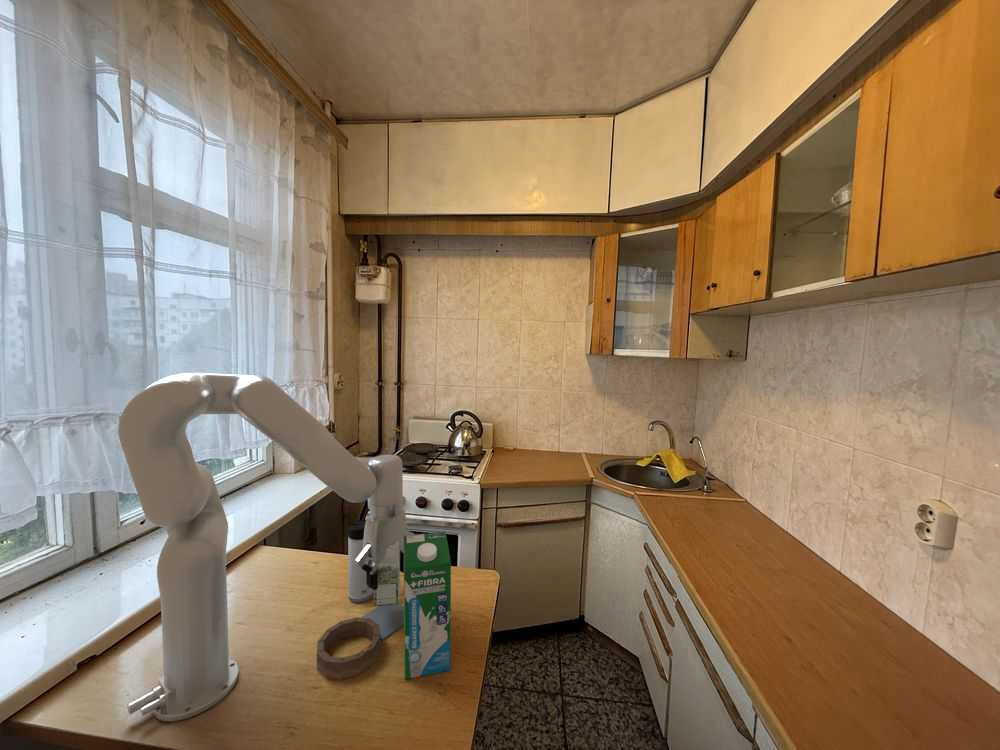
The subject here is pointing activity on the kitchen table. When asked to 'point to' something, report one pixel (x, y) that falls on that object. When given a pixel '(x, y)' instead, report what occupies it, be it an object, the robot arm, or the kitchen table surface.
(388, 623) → the mat
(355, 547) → the travel mug
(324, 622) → the kitchen table surface
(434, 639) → the milk carton
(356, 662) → the collar
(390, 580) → the syrup box
